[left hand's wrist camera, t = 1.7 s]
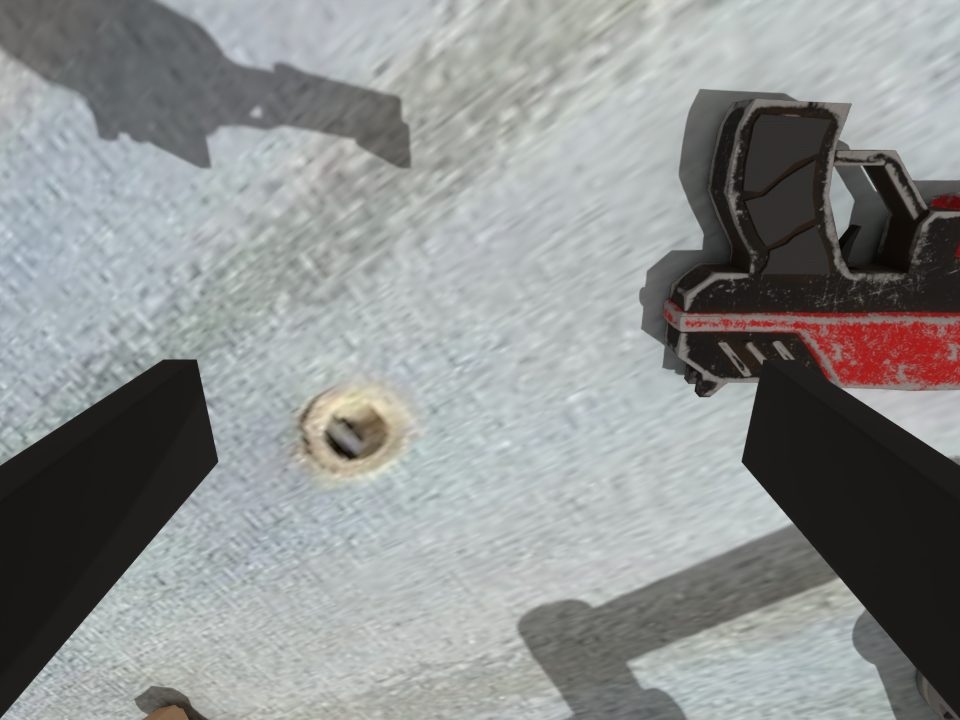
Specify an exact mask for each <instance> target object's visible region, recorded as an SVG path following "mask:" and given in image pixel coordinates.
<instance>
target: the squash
mask: <svg viewBox="0 0 960 720" xmlns="http://www.w3.org/2000/svg"><path fill="white" fill-rule="evenodd" d="M143 720H189V719H188V717H187V716H186V714H185V712H184V710H183V708H178V707H177V706H176V705H172V706H168V707H163V708H158V709H156V710H155V711H154V712H152V713H151V714H150V715H148V716H147V717H145V718H144V719H143Z"/></svg>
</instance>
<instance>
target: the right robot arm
mask: <svg viewBox="0 0 960 720" xmlns="http://www.w3.org/2000/svg"><path fill="white" fill-rule="evenodd" d="M917 683H918V688H919V691H920V693H921V695H922V696H923V698H924V699H925V700H926V702H927V703H928V704H929V705H930V707H931V708H932V709H933V710H934V711H935V712H936V713H937V714H938V715H939V716H940V717H941V718H942V719H943V720H960V718H959V717H958V716H957V715H956V714H955V712H954V711H953V710H952V709H951V708H950V707H949V705H948V704H947V703H946V702H945V701H944V700H943V698H942V697H941V696H940V695H939V694H938V692H937V691H936V690H935V689H934V688H933V687H932V685H931V684H930V683H929V682H928V681H927V680H926V678H925V677H924V676H923V675H922V674H921V672H920V671H919V670H918V675H917Z"/></svg>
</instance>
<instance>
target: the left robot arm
mask: <svg viewBox="0 0 960 720" xmlns="http://www.w3.org/2000/svg"><path fill="white" fill-rule="evenodd" d="M217 463H218V457H217V453H216V448H215V443H214V439H213V434H212V429H211V425H210V420H209V415H208V410H207V406H206V401H205V396H204V392H203V387H202V382H201V377H200V373H199V368H198V363H197V360H162V361H161V362H159V363H158V364H156V365H154V366H153V367H151V368H150V369H148V370H147V371H145V372H144V373H142V374H141V375H139V376H138V377H136V378H134V379H133V380H131V381H130V382H128V383H127V384H125V385H124V386H122V387H121V388H119V389H117V390H116V391H114V392H113V393H111V394H110V395H108V396H107V397H105V398H104V399H102V400H101V401H99V402H97V403H96V404H94V405H93V406H91V407H90V408H88V409H87V410H85V411H84V412H82V413H81V414H79V415H77V416H76V417H74V418H73V419H71V420H70V421H68V422H67V423H65V424H64V425H62V426H61V427H59V428H57V429H56V430H54V431H53V432H51V433H50V434H48V435H47V436H45V437H44V438H42V439H41V440H39V441H37V442H36V443H34V444H33V445H31V446H30V447H28V448H27V449H25V450H24V451H22V452H21V453H19V454H17V455H16V456H14V457H13V458H11V459H10V460H8V461H7V462H5V463H4V464H2V465H1V466H0V718H1V717H2V716H3V715H4V714H5V712H6V711H7V710H8V709H9V708H10V707H11V705H12V704H13V703H14V702H15V701H16V700H17V698H18V697H19V696H20V695H21V694H22V692H23V691H24V690H25V689H26V688H27V687H28V685H29V684H30V683H31V682H32V681H33V680H34V678H35V677H36V676H37V675H38V674H39V672H40V671H41V670H42V669H43V668H44V667H45V665H46V664H47V663H48V662H49V661H50V659H51V658H52V657H53V656H54V655H55V654H56V652H57V651H58V650H59V649H60V648H61V647H62V645H63V644H64V643H65V642H66V641H67V639H68V638H69V637H70V636H71V635H72V634H73V632H74V631H75V630H76V629H77V628H78V627H79V625H80V624H81V623H82V622H83V621H84V619H85V618H86V617H87V616H88V615H89V614H90V612H91V611H92V610H93V609H94V608H95V607H96V605H97V604H98V603H99V602H100V601H101V599H102V598H103V597H104V596H105V595H106V594H107V592H108V591H109V590H110V589H111V588H112V587H113V585H114V584H115V583H116V582H117V581H118V579H119V578H120V577H121V576H122V575H123V574H124V572H125V571H126V570H127V569H128V568H129V567H130V565H131V564H132V563H133V562H134V561H135V559H136V558H137V557H138V556H139V555H140V554H141V552H142V551H143V550H144V549H145V548H146V546H147V545H148V544H149V543H150V542H151V541H152V539H153V538H154V537H155V536H156V535H157V534H158V532H159V531H160V530H161V529H162V528H163V526H164V525H165V524H166V523H167V522H168V521H169V519H170V518H171V517H172V516H173V515H174V514H175V512H176V511H177V510H178V509H179V508H180V506H181V505H182V504H183V503H184V502H185V501H186V499H187V498H188V497H189V496H190V495H191V494H192V492H193V491H194V490H195V489H196V488H197V486H198V485H199V484H200V483H201V482H202V481H203V479H204V478H205V477H206V476H207V475H208V474H209V472H210V471H211V470H212V469H213V468H214V466H215V465H216V464H217ZM742 463H743V464H744V465H745V466H746V468H747V469H748V470H749V471H750V472H751V474H752V475H753V476H754V477H755V478H756V479H757V481H758V482H759V483H760V484H761V485H762V486H763V488H764V489H765V490H766V491H767V492H768V494H769V495H770V496H771V497H772V498H773V499H774V501H775V502H776V503H777V504H778V505H779V506H780V508H781V509H782V510H783V511H784V512H785V514H786V515H787V516H788V517H789V518H790V519H791V521H792V522H793V523H794V524H795V525H796V526H797V528H798V529H799V530H800V531H801V532H802V534H803V535H804V536H805V537H806V538H807V539H808V541H809V542H810V543H811V544H812V545H813V546H814V548H815V549H816V550H817V551H818V552H819V554H820V555H821V556H822V557H823V558H824V559H825V561H826V562H827V563H828V564H829V565H830V567H831V568H832V569H833V570H834V571H835V572H836V574H837V575H838V576H839V577H840V578H841V579H842V581H843V582H844V583H845V584H846V585H847V587H848V588H849V589H850V590H851V591H852V592H853V594H854V595H855V596H856V597H857V598H858V599H859V601H860V602H861V603H862V604H863V605H864V607H865V608H866V609H867V610H868V611H869V612H870V614H871V615H872V616H873V617H874V618H875V619H876V621H877V622H878V623H879V624H880V625H881V627H882V628H883V629H884V630H885V631H886V632H887V634H888V635H889V636H890V637H891V638H892V639H893V641H894V642H895V643H896V644H897V645H898V647H899V648H900V649H901V650H902V651H903V652H904V654H905V655H906V656H907V657H908V658H909V659H910V661H911V662H912V663H913V664H914V665H915V667H916V668H917V669H918V670H919V671H920V672H921V674H922V675H923V676H924V677H925V678H926V680H927V681H928V682H929V683H930V684H931V685H932V687H933V688H934V689H935V690H936V691H937V692H938V694H939V695H940V696H941V697H942V698H943V700H944V701H945V702H946V703H947V704H948V705H949V707H950V708H951V709H952V710H953V711H954V712H955V714H956V715H957V716H958V717H959V718H960V466H959V465H958V464H956V463H955V462H953V461H952V460H950V459H949V458H947V457H946V456H944V455H943V454H941V453H939V452H938V451H936V450H935V449H933V448H932V447H930V446H929V445H927V444H926V443H924V442H923V441H921V440H919V439H918V438H916V437H915V436H913V435H912V434H910V433H909V432H907V431H906V430H904V429H903V428H901V427H899V426H898V425H896V424H895V423H893V422H892V421H890V420H889V419H887V418H886V417H884V416H883V415H881V414H879V413H878V412H876V411H875V410H873V409H872V408H870V407H869V406H867V405H866V404H864V403H863V402H861V401H859V400H858V399H856V398H855V397H853V396H852V395H850V394H849V393H847V392H846V391H844V390H843V389H841V388H839V387H838V386H836V385H835V384H833V383H832V382H830V381H829V380H827V379H826V378H824V377H822V376H821V375H819V374H818V373H816V372H815V371H813V370H812V369H810V368H809V367H807V366H806V365H804V364H802V363H801V362H799V361H798V360H763V363H762V368H761V373H760V377H759V382H758V387H757V392H756V396H755V401H754V406H753V410H752V415H751V420H750V425H749V429H748V434H747V439H746V443H745V448H744V453H743V457H742Z"/></svg>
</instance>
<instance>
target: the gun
mask: <svg viewBox="0 0 960 720" xmlns="http://www.w3.org/2000/svg"><path fill="white" fill-rule="evenodd" d="M850 107H851V104H848V103H825V102H803V101H785V100H769V99H752V100H746V101H740V102H734V103H732V105H731V107H730V108H729V110H728V112H727V114H726V116H725V118H724V119H723V121H722V123H721V125H720V128H719V132H718V135H717V140H716V145H715V149H714V154H713V159H712V164H711V170H710V176H709V183H708V192H709V195H710V198H711V201H712V203H713V206H714V209H715V212H716V215H717V217H718V220H719V222H720V224H721V226H722V228H723V230H724V232H725V234H726V237H727V239H728V241H729V243H730V245H731V254H730V262H729V263H698V264H696V265H695V266H694V267H693V268H691V269H690V270H689V271H688V272H686V273H685V274H684V275H682V276H681V277H680V278H679V279H677V280H676V281H675V282H674V283H672V287H671V294H670V299H668V300H666V301H665V302H664V312H663V316H664V318H665V319H666V320H667V324H666V331H665V339H664V341H665V342H666V344H667V345H668V346H669V347H670V348H671V349H672V350H673V352H674V353H675V354H676V355H677V356H678V357H679V358H680V359H682V360H683V361H685V362H686V363H687V366H686V372H685V377H684V379H685V380H686V381H687V383H688V384H696V386H695V392H696V394H697V395H698V396H699V397H710V396H712V395H713V394H714V393H715V392H717V391H718V390H719V389H720V388H722V387H723V386H724V385H725V384H727V383H728V382H730V383H758V382H759V377H760V373H761V368H762V363H763V360H798V361H799V362H801V363H802V364H804V365H806V366H807V367H809V368H810V369H812V370H813V371H815V372H816V373H818V374H819V375H821V376H822V377H824V378H826V379H827V380H829V381H830V382H832V383H833V384H835V385H836V386H838V387H839V388H866V389H889V390H906V391H929V390H960V192H953V193H948V194H943V195H938V196H934V197H933V199H932V202H931V205H930V206H926V204H925V203H924V201H923V199H922V197H921V195H920V194H919V192H918V190H917V188H916V186H915V184H914V183H913V181H912V179H911V177H910V175H909V173H908V172H907V170H906V168H905V166H904V164H903V163H902V161H901V159H900V157H899V155H898V153H897V152H896V150H835V149H836V145H837V142H838V139H839V136H840V134H841V131H842V129H843V127H844V124H845V122H846V119H847V116H848V113H849V110H850ZM859 165H863V167H864V169H865V171H866V172H867V174H868V176H869V178H870V179H871V181H872V183H873V185H874V186H875V188H876V190H877V192H878V193H879V195H880V197H881V199H882V200H883V202H884V204H885V206H886V207H887V209H888V211H889V213H890V215H889V216H888V217H887V220H886V224H885V227H884V231H883V234H882V238H881V242H880V245H879V249H878V252H877V256H876V259H875V263H848V257H849V254H850V250H851V247H852V244H853V242H854V240H855V238H856V236H857V234H858V232H859V230H860V228H861V226H858V225H850V227H849V228H848V229H847V230H846V232H845V233H844V234H843V235H842V237H841V238H840V239H839V240H838V237H837V232H836V227H835V223H834V218H833V213H832V208H831V203H830V199H829V191H830V184H831V176H832V169H833V166H859Z"/></svg>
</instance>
